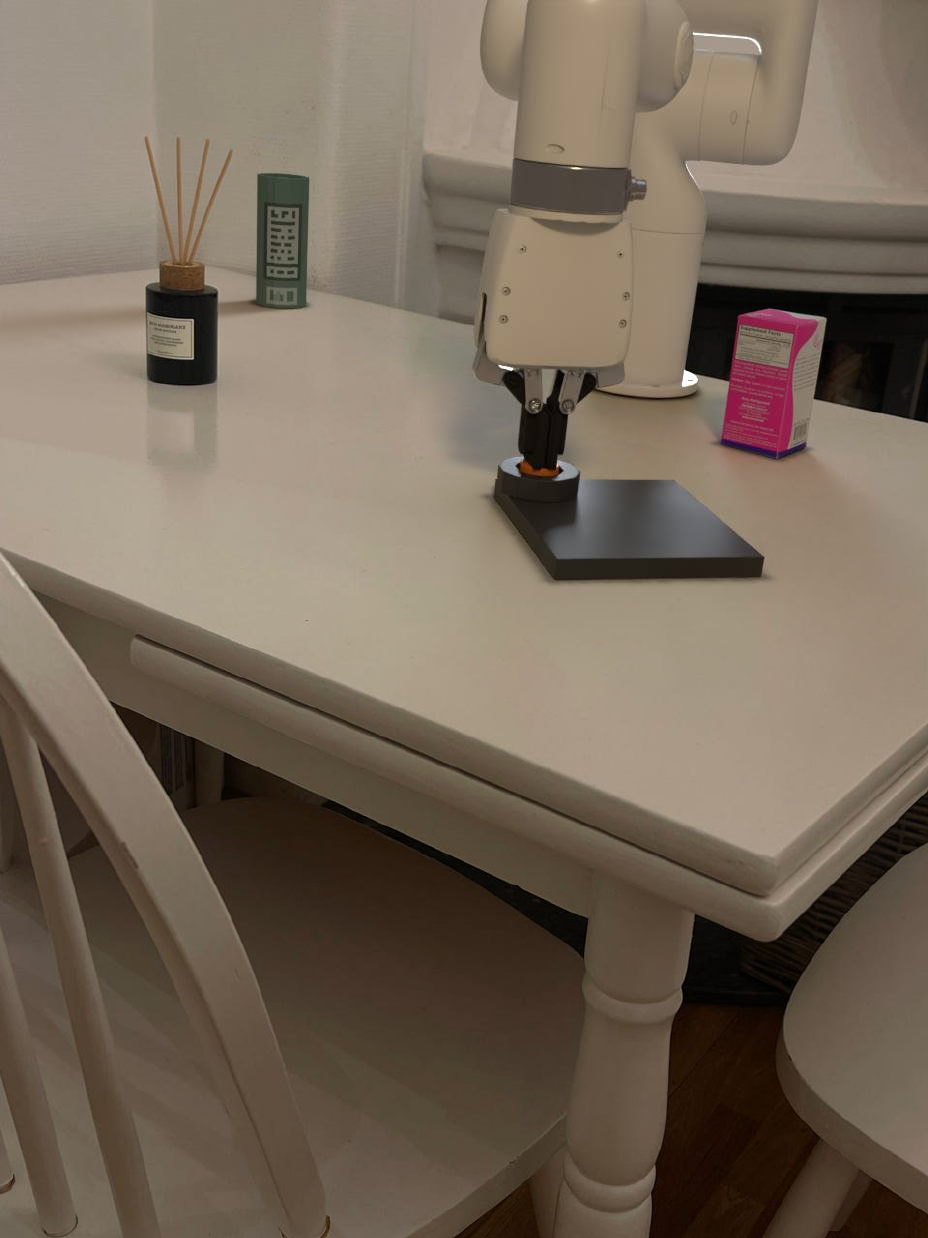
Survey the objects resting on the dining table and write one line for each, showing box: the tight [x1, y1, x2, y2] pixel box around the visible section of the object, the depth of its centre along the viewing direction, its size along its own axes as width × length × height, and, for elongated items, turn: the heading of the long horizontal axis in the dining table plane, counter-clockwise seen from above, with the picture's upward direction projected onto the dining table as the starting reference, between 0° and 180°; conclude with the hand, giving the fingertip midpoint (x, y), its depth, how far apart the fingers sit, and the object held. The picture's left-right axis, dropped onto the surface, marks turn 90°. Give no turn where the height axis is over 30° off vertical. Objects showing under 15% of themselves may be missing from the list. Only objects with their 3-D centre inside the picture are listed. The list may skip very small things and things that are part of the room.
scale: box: [493, 456, 765, 581], centre depth 87 cm, size 16×14×3 cm
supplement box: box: [720, 308, 827, 460], centre depth 109 cm, size 6×6×12 cm
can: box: [255, 172, 310, 309], centre depth 153 cm, size 6×6×15 cm
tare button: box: [519, 459, 559, 476], centre depth 90 cm, size 3×3×2 cm
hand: (539, 463), depth 89 cm, fingers closed
